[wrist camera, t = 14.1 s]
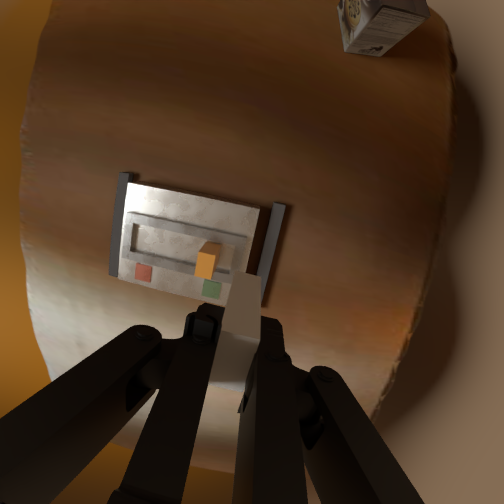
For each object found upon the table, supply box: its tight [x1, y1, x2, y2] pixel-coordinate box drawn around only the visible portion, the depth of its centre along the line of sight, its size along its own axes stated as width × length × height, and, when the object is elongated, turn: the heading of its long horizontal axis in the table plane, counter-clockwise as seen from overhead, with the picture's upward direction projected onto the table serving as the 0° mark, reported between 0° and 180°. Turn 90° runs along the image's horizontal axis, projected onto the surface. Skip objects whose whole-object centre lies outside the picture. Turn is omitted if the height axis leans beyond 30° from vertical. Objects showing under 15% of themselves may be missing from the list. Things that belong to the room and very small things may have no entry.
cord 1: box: [109, 172, 133, 277], centre depth 42 cm, size 16×2×2 cm, turn 167°
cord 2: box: [256, 202, 286, 302], centre depth 43 cm, size 16×2×2 cm, turn 167°
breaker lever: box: [194, 242, 221, 280], centre depth 37 cm, size 3×2×5 cm, turn 168°
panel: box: [118, 181, 260, 306], centre depth 41 cm, size 14×18×5 cm
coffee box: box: [337, 0, 430, 57], centre depth 26 cm, size 9×6×16 cm
